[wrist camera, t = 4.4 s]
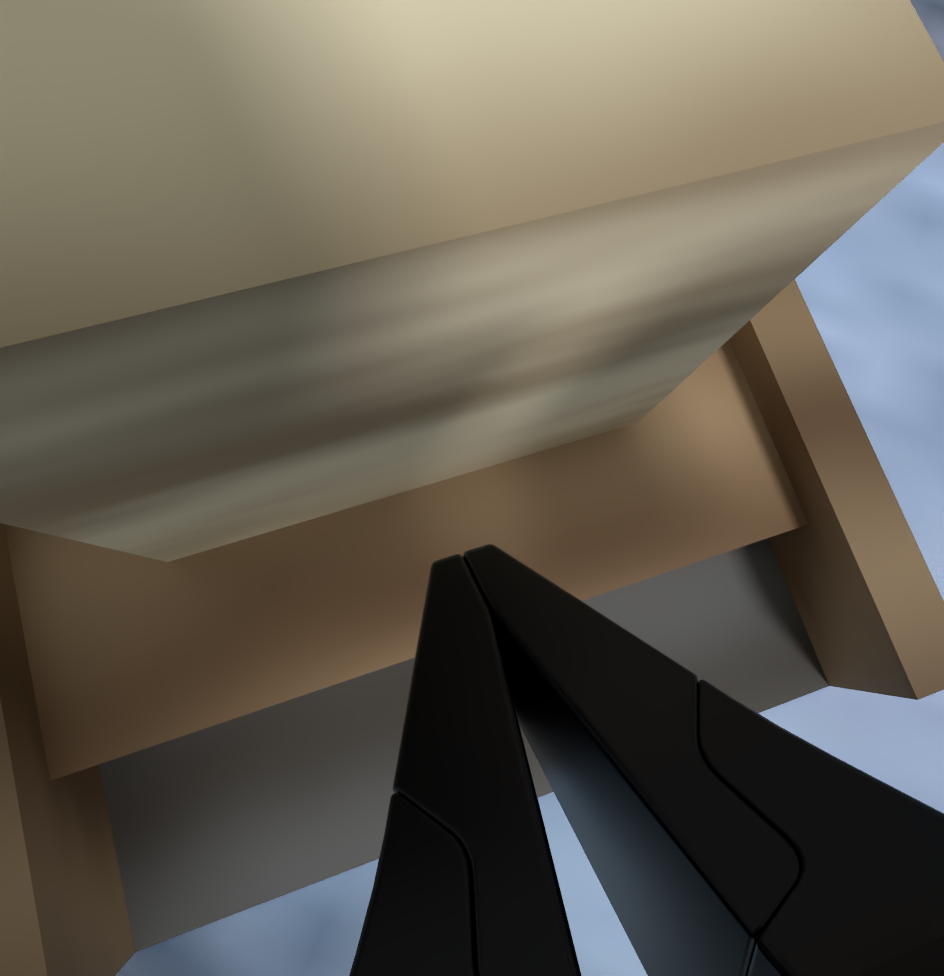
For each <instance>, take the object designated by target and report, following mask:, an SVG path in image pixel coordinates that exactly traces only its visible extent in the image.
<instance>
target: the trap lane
mask: <svg viewBox="0 0 944 976" xmlns="http://www.w3.org/2000/svg"><path fill="white" fill-rule="evenodd" d="M486 544H493V545H495V546H497V547H498V548H500V549H502V550H503V551H505V552H506V553H508V554H509V555H511V556H512V557H514V558H516V559H517V560H519V561H520V562H522V563H523V564H525V565H526V566H528V567H529V568H531V569H533V570H534V571H536V572H537V573H539V574H540V575H542V576H543V577H545V578H547V579H548V580H550V581H551V582H553V583H554V584H556V585H557V586H559V587H561V588H562V589H564V590H565V591H567V592H568V593H570V594H571V595H573V596H575V597H576V598H578V599H579V600H581V601H582V602H584V603H585V604H587V605H589V606H590V607H592V608H593V609H595V610H596V611H598V612H599V613H601V614H603V615H604V616H606V617H607V618H609V619H610V620H612V621H613V622H615V623H616V624H618V625H620V626H621V627H623V628H624V629H626V630H627V631H629V632H630V633H632V634H634V635H635V636H637V637H638V638H640V639H641V640H643V641H644V642H646V643H648V644H649V645H651V646H652V647H654V648H655V649H657V650H658V651H660V652H662V653H663V654H665V655H666V656H668V657H669V658H671V659H672V660H674V661H676V662H677V663H679V664H680V665H682V666H683V667H685V668H686V669H688V670H690V671H691V672H693V673H694V674H696V675H697V677H698V682H699V681H700V680H702V679H703V680H706V681H707V682H709V683H710V684H712V685H713V686H715V687H716V688H718V689H719V690H721V691H723V692H724V693H726V694H727V695H729V696H730V697H732V698H733V699H735V700H737V701H738V702H740V703H742V704H743V705H745V706H747V707H748V708H750V709H752V710H753V711H755V712H756V713H759V712H762V711H765V710H767V709H770V708H773V707H775V706H778V705H780V704H783V703H786V702H788V701H791V700H793V699H796V698H799V697H801V696H804V695H806V694H809V693H812V692H814V691H817V690H819V689H822V688H825V687H827V686H834V687H840V688H847V689H853V690H859V691H866V692H872V693H879V694H885V695H891V696H898V697H904V698H910V699H917V700H918V699H921V698H923V697H926V696H928V695H931V694H933V693H936V692H938V691H941V690H943V689H944V601H943V599H942V597H941V595H940V592H939V590H938V588H937V586H936V584H935V582H934V580H933V577H932V575H931V573H930V571H929V569H928V567H927V564H926V562H925V560H924V558H923V556H922V554H921V551H920V549H919V547H918V545H917V543H916V541H915V538H914V536H913V534H912V532H911V530H910V528H909V525H908V523H907V521H906V519H905V517H904V515H903V513H902V510H901V508H900V506H899V504H898V502H897V500H896V497H895V495H894V493H893V491H892V489H891V487H890V484H889V482H888V480H887V478H886V476H885V474H884V471H883V469H882V467H881V465H880V463H879V461H878V459H877V456H876V454H875V452H874V450H873V448H872V446H871V443H870V441H869V439H868V437H867V435H866V433H865V430H864V428H863V426H862V424H861V422H860V420H859V417H858V415H857V413H856V411H855V409H854V407H853V404H852V402H851V400H850V398H849V396H848V394H847V392H846V389H845V387H844V385H843V383H842V381H841V379H840V376H839V374H838V372H837V370H836V368H835V366H834V363H833V361H832V359H831V357H830V355H829V353H828V350H827V348H826V346H825V344H824V342H823V340H822V337H821V335H820V333H819V331H818V329H817V327H816V325H815V322H814V320H813V318H812V316H811V314H810V312H809V309H808V307H807V305H806V303H805V301H804V299H803V296H802V294H801V292H800V290H799V288H798V286H797V283H796V281H795V279H794V280H793V281H792V282H791V283H790V284H789V285H787V286H786V287H785V288H784V289H783V290H782V291H781V292H780V293H779V294H778V295H777V296H775V297H774V298H773V299H772V300H771V301H770V302H769V303H768V304H767V305H766V306H765V307H763V308H762V309H761V310H760V311H759V312H758V313H757V314H756V315H755V316H754V317H753V318H752V319H750V320H749V321H748V322H747V323H746V324H745V325H744V326H743V327H742V328H741V329H740V330H738V331H737V332H736V333H735V334H734V335H733V336H732V337H731V338H730V339H729V340H728V341H726V342H725V343H724V344H723V345H722V346H721V347H720V348H719V349H718V350H717V351H716V352H715V353H713V354H712V355H711V356H710V357H709V358H708V359H707V360H706V361H705V362H704V363H703V364H701V365H700V366H699V367H698V368H697V369H696V370H695V371H694V372H693V373H692V374H691V375H689V376H688V377H687V378H686V379H685V380H684V381H683V382H682V383H681V384H680V385H679V386H677V387H676V388H675V389H674V390H673V391H672V392H671V393H670V394H669V395H668V396H667V397H666V398H664V399H663V400H662V401H661V402H660V403H659V404H658V405H657V406H656V407H655V408H654V409H652V410H651V411H650V412H649V413H648V414H647V415H646V416H645V417H644V418H643V419H642V420H640V421H639V422H637V423H634V424H630V425H627V426H624V427H620V428H617V429H614V430H610V431H607V432H603V433H600V434H597V435H593V436H590V437H587V438H583V439H580V440H577V441H573V442H570V443H566V444H563V445H560V446H556V447H553V448H550V449H546V450H543V451H540V452H536V453H533V454H530V455H526V456H523V457H519V458H516V459H513V460H509V461H506V462H503V463H499V464H496V465H493V466H489V467H486V468H482V469H479V470H476V471H472V472H469V473H466V474H462V475H459V476H456V477H452V478H449V479H445V480H442V481H439V482H435V483H432V484H429V485H425V486H422V487H419V488H415V489H412V490H408V491H405V492H402V493H398V494H395V495H392V496H388V497H385V498H382V499H378V500H375V501H371V502H368V503H365V504H361V505H358V506H355V507H351V508H348V509H345V510H341V511H338V512H334V513H331V514H328V515H324V516H321V517H318V518H314V519H311V520H308V521H304V522H301V523H297V524H294V525H291V526H287V527H284V528H281V529H277V530H274V531H271V532H267V533H264V534H261V535H257V536H254V537H250V538H247V539H244V540H240V541H237V542H234V543H230V544H227V545H224V546H220V547H217V548H213V549H210V550H207V551H203V552H200V553H197V554H193V555H190V556H187V557H183V558H180V559H176V560H173V561H170V562H165V561H161V560H157V559H152V558H148V557H144V556H139V555H135V554H131V553H127V552H122V551H118V550H114V549H109V548H105V547H101V546H97V545H92V544H88V543H84V542H80V541H75V540H71V539H67V538H62V537H58V536H54V535H50V534H45V533H41V532H37V531H32V530H28V529H24V528H20V527H15V526H11V525H7V524H3V523H0V976H115V975H116V974H117V973H118V971H119V970H120V969H121V968H122V967H123V966H124V964H125V963H126V962H127V961H128V960H129V959H130V958H131V956H132V955H133V954H134V953H135V952H136V951H139V950H142V949H144V948H147V947H149V946H152V945H155V944H157V943H160V942H162V941H165V940H168V939H170V938H173V937H175V936H178V935H181V934H183V933H186V932H188V931H191V930H194V929H196V928H199V927H201V926H204V925H207V924H209V923H212V922H215V921H217V920H220V919H222V918H225V917H228V916H230V915H233V914H235V913H238V912H241V911H243V910H246V909H248V908H251V907H254V906H256V905H259V904H261V903H264V902H267V901H269V900H272V899H274V898H277V897H280V896H282V895H285V894H288V893H290V892H293V891H295V890H298V889H301V888H303V887H306V886H308V885H311V884H314V883H316V882H319V881H321V880H324V879H327V878H329V877H332V876H334V875H337V874H340V873H342V872H345V871H347V870H350V869H353V868H355V867H358V866H361V865H363V864H366V863H368V862H371V861H374V860H376V859H379V857H380V852H381V847H382V842H383V838H384V833H385V827H386V821H387V816H388V810H389V804H390V798H391V796H392V794H394V791H393V783H394V777H395V772H396V766H397V760H398V754H399V748H400V742H401V737H402V731H403V725H404V719H405V713H406V708H407V702H408V696H409V690H410V684H411V679H412V673H413V667H414V661H415V655H416V650H417V644H418V638H419V632H420V626H421V620H422V615H423V609H424V603H425V597H426V591H427V586H428V580H429V574H430V568H431V565H432V563H433V562H434V561H436V560H439V559H442V558H445V557H448V556H451V555H455V554H460V555H462V556H463V555H464V553H465V551H467V550H470V549H473V548H477V547H480V546H483V545H486ZM519 726H520V725H519ZM520 730H521V734H522V738H523V742H524V746H525V750H526V754H527V758H528V762H529V766H530V770H531V774H532V778H533V782H534V786H535V790H536V794H537V798H538V797H540V796H543V795H546V794H548V793H551V792H553V789H552V787H551V785H550V783H549V782H548V780H547V778H546V776H545V774H544V772H543V770H542V768H541V766H540V764H539V762H538V760H537V758H536V756H535V754H534V752H533V750H532V748H531V746H530V744H529V742H528V740H527V739H526V737H525V735H524V733H523V731H522V729H521V727H520Z"/></svg>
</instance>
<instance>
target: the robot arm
mask: <svg viewBox="0 0 944 976" xmlns="http://www.w3.org/2000/svg"><path fill="white" fill-rule="evenodd" d="M519 725H520V726H519ZM520 727H521V729H522V731H523V733H524V735H525V737H526V739H527V740H528V742H529V744H530V746H531V748H532V750H533V752H534V754H535V756H536V758H537V760H538V762H539V764H540V766H541V768H542V770H543V772H544V774H545V776H546V778H547V780H548V782H549V783H550V785H551V787H552V789H553V791H554V793H555V795H556V797H557V799H558V801H559V803H560V805H561V807H562V809H563V811H564V813H565V815H566V817H567V819H568V821H569V823H570V824H571V826H572V828H573V830H574V832H575V834H576V836H577V838H578V840H579V842H580V844H581V846H582V848H583V850H584V852H585V854H586V856H587V858H588V860H589V862H590V864H591V865H592V867H593V869H594V871H595V873H596V875H597V877H598V879H599V881H600V883H601V885H602V887H603V889H604V891H605V893H606V895H607V897H608V899H609V901H610V903H611V905H612V907H613V908H614V910H615V912H616V914H617V916H618V918H619V920H620V922H621V924H622V926H623V928H624V930H625V932H626V934H627V936H628V938H629V940H630V942H631V944H632V946H633V948H634V949H635V951H636V953H637V955H638V957H639V959H640V961H641V963H642V965H643V967H644V969H645V971H646V973H647V975H648V976H944V813H942V812H940V811H938V810H936V809H934V808H932V807H930V806H928V805H926V804H924V803H922V802H920V801H919V800H917V799H915V798H913V797H911V796H909V795H907V794H905V793H903V792H901V791H899V790H897V789H895V788H894V787H892V786H890V785H888V784H886V783H884V782H882V781H880V780H878V779H876V778H874V777H872V776H871V775H869V774H867V773H865V772H863V771H861V770H859V769H857V768H855V767H853V766H851V765H849V764H847V763H846V762H844V761H842V760H840V759H838V758H836V757H834V756H832V755H830V754H829V753H827V752H825V751H823V750H821V749H820V748H818V747H816V746H814V745H812V744H810V743H809V742H807V741H805V740H803V739H801V738H799V737H798V736H796V735H794V734H792V733H790V732H789V731H787V730H785V729H783V728H781V727H779V726H778V725H776V724H774V723H773V722H771V721H770V720H768V719H766V718H765V717H763V716H761V715H760V714H758V713H756V712H755V711H753V710H752V709H750V708H748V707H747V706H745V705H743V704H742V703H740V702H738V701H737V700H735V699H733V698H732V697H730V696H729V695H727V694H726V693H724V692H723V691H721V690H719V689H718V688H716V687H715V686H713V685H712V684H710V683H709V682H707V681H706V680H703V679H702V680H700V681H699V682H698V677H697V675H696V674H694V673H693V672H691V671H690V670H688V669H686V668H685V667H683V666H682V665H680V664H679V663H677V662H676V661H674V660H672V659H671V658H669V657H668V656H666V655H665V654H663V653H662V652H660V651H658V650H657V649H655V648H654V647H652V646H651V645H649V644H648V643H646V642H644V641H643V640H641V639H640V638H638V637H637V636H635V635H634V634H632V633H630V632H629V631H627V630H626V629H624V628H623V627H621V626H620V625H618V624H616V623H615V622H613V621H612V620H610V619H609V618H607V617H606V616H604V615H603V614H601V613H599V612H598V611H596V610H595V609H593V608H592V607H590V606H589V605H587V604H585V603H584V602H582V601H581V600H579V599H578V598H576V597H575V596H573V595H571V594H570V593H568V592H567V591H565V590H564V589H562V588H561V587H559V586H557V585H556V584H554V583H553V582H551V581H550V580H548V579H547V578H545V577H543V576H542V575H540V574H539V573H537V572H536V571H534V570H533V569H531V568H529V567H528V566H526V565H525V564H523V563H522V562H520V561H519V560H517V559H516V558H514V557H512V556H511V555H509V554H508V553H506V552H505V551H503V550H502V549H500V548H498V547H497V546H495V545H493V544H486V545H483V546H480V547H477V548H473V549H470V550H467V551H465V553H464V555H463V556H462V555H460V554H455V555H451V556H448V557H445V558H442V559H439V560H436V561H434V562H433V563H432V565H431V568H430V574H429V580H428V586H427V591H426V597H425V603H424V609H423V615H422V620H421V626H420V632H419V638H418V644H417V650H416V655H415V661H414V667H413V673H412V679H411V684H410V690H409V696H408V702H407V708H406V713H405V719H404V725H403V731H402V737H401V742H400V748H399V754H398V760H397V766H396V772H395V777H394V783H393V791H394V794H392V796H391V798H390V804H389V810H388V816H387V821H386V827H385V833H384V838H383V842H382V847H381V852H380V857H379V862H378V867H377V872H376V877H375V881H374V886H373V890H372V894H371V898H370V902H369V906H368V909H367V913H366V917H365V921H364V925H363V928H362V932H361V936H360V940H359V944H358V947H357V951H356V955H355V958H354V962H353V965H352V969H351V972H350V975H349V976H581V972H580V968H579V964H578V960H577V956H576V952H575V948H574V944H573V940H572V936H571V932H570V928H569V924H568V920H567V916H566V912H565V908H564V903H563V899H562V895H561V891H560V887H559V883H558V879H557V875H556V871H555V867H554V863H553V859H552V855H551V851H550V847H549V843H548V839H547V835H546V831H545V827H544V823H543V819H542V815H541V811H540V807H539V802H538V798H537V794H536V790H535V786H534V782H533V778H532V774H531V770H530V766H529V762H528V758H527V754H526V750H525V746H524V742H523V738H522V734H521V730H520Z"/></svg>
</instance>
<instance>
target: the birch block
mask: <svg viewBox="0 0 944 976" xmlns="http://www.w3.org/2000/svg"><path fill="white" fill-rule="evenodd" d="M943 142H944V61H943V59H942V58H941V56H940V54H939V52H938V50H937V49H936V47H935V45H934V43H933V41H932V40H931V38H930V36H929V34H928V32H927V31H926V29H925V27H924V25H923V23H922V21H921V20H920V18H919V16H918V14H917V12H916V11H915V9H914V7H913V5H912V3H911V2H910V0H0V523H3V524H7V525H11V526H15V527H20V528H24V529H28V530H32V531H37V532H41V533H45V534H50V535H54V536H58V537H62V538H67V539H71V540H75V541H80V542H84V543H88V544H92V545H97V546H101V547H105V548H109V549H114V550H118V551H122V552H127V553H131V554H135V555H139V556H144V557H148V558H152V559H157V560H161V561H165V562H170V561H173V560H176V559H180V558H183V557H187V556H190V555H193V554H197V553H200V552H203V551H207V550H210V549H213V548H217V547H220V546H224V545H227V544H230V543H234V542H237V541H240V540H244V539H247V538H250V537H254V536H257V535H261V534H264V533H267V532H271V531H274V530H277V529H281V528H284V527H287V526H291V525H294V524H297V523H301V522H304V521H308V520H311V519H314V518H318V517H321V516H324V515H328V514H331V513H334V512H338V511H341V510H345V509H348V508H351V507H355V506H358V505H361V504H365V503H368V502H371V501H375V500H378V499H382V498H385V497H388V496H392V495H395V494H398V493H402V492H405V491H408V490H412V489H415V488H419V487H422V486H425V485H429V484H432V483H435V482H439V481H442V480H445V479H449V478H452V477H456V476H459V475H462V474H466V473H469V472H472V471H476V470H479V469H482V468H486V467H489V466H493V465H496V464H499V463H503V462H506V461H509V460H513V459H516V458H519V457H523V456H526V455H530V454H533V453H536V452H540V451H543V450H546V449H550V448H553V447H556V446H560V445H563V444H566V443H570V442H573V441H577V440H580V439H583V438H587V437H590V436H593V435H597V434H600V433H603V432H607V431H610V430H614V429H617V428H620V427H624V426H627V425H630V424H634V423H637V422H639V421H640V420H642V419H643V418H644V417H645V416H646V415H647V414H648V413H649V412H650V411H651V410H652V409H654V408H655V407H656V406H657V405H658V404H659V403H660V402H661V401H662V400H663V399H664V398H666V397H667V396H668V395H669V394H670V393H671V392H672V391H673V390H674V389H675V388H676V387H677V386H679V385H680V384H681V383H682V382H683V381H684V380H685V379H686V378H687V377H688V376H689V375H691V374H692V373H693V372H694V371H695V370H696V369H697V368H698V367H699V366H700V365H701V364H703V363H704V362H705V361H706V360H707V359H708V358H709V357H710V356H711V355H712V354H713V353H715V352H716V351H717V350H718V349H719V348H720V347H721V346H722V345H723V344H724V343H725V342H726V341H728V340H729V339H730V338H731V337H732V336H733V335H734V334H735V333H736V332H737V331H738V330H740V329H741V328H742V327H743V326H744V325H745V324H746V323H747V322H748V321H749V320H750V319H752V318H753V317H754V316H755V315H756V314H757V313H758V312H759V311H760V310H761V309H762V308H763V307H765V306H766V305H767V304H768V303H769V302H770V301H771V300H772V299H773V298H774V297H775V296H777V295H778V294H779V293H780V292H781V291H782V290H783V289H784V288H785V287H786V286H787V285H789V284H790V283H791V282H792V281H793V280H794V279H795V278H796V277H797V276H798V275H799V274H801V273H802V272H803V271H804V270H805V269H806V268H807V267H808V266H809V265H810V264H811V263H812V262H814V261H815V260H816V259H817V258H818V257H819V256H820V255H821V254H822V253H823V252H824V251H826V250H827V249H828V248H829V247H830V246H831V245H832V244H833V243H834V242H835V241H836V240H838V239H839V238H840V237H841V236H842V235H843V234H844V233H845V232H846V231H847V230H848V229H850V228H851V227H852V226H853V225H854V224H855V223H856V222H857V221H858V220H859V219H860V218H861V217H863V216H864V215H865V214H866V213H867V212H868V211H869V210H870V209H871V208H872V207H873V206H875V205H876V204H877V203H878V202H879V201H880V200H881V199H882V198H883V197H884V196H885V195H887V194H888V193H889V192H890V191H891V190H892V189H893V188H894V187H895V186H896V185H897V184H898V183H900V182H901V181H902V180H903V179H904V178H905V177H906V176H907V175H908V174H909V173H910V172H912V171H913V170H914V169H915V168H916V167H917V166H918V165H919V164H920V163H921V162H922V161H924V160H925V159H926V158H927V157H928V156H929V155H930V154H931V153H932V152H933V151H934V150H936V149H937V148H938V147H939V146H940V145H941V144H942V143H943Z"/></svg>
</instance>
